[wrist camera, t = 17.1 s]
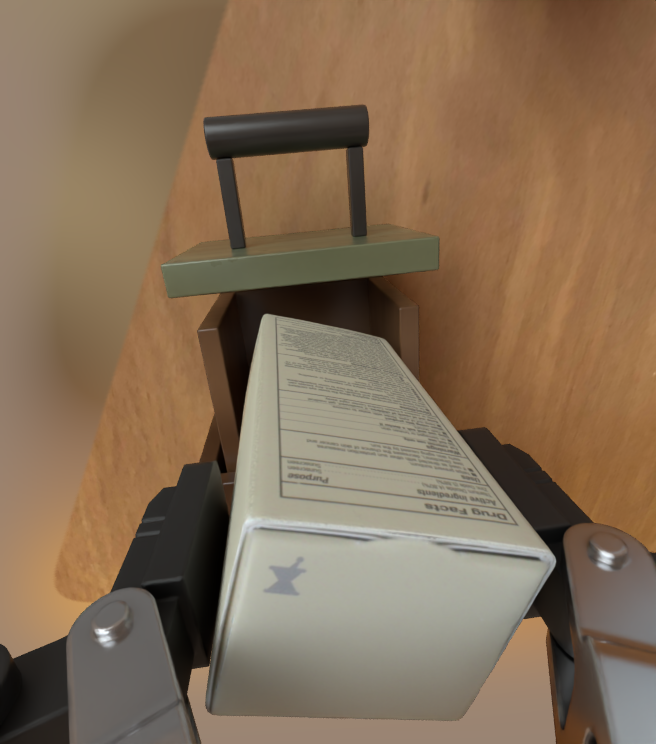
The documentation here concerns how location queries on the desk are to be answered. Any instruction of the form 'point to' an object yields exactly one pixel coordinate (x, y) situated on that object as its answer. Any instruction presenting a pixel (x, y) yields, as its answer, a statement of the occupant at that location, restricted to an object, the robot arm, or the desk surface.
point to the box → (361, 542)
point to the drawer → (295, 260)
